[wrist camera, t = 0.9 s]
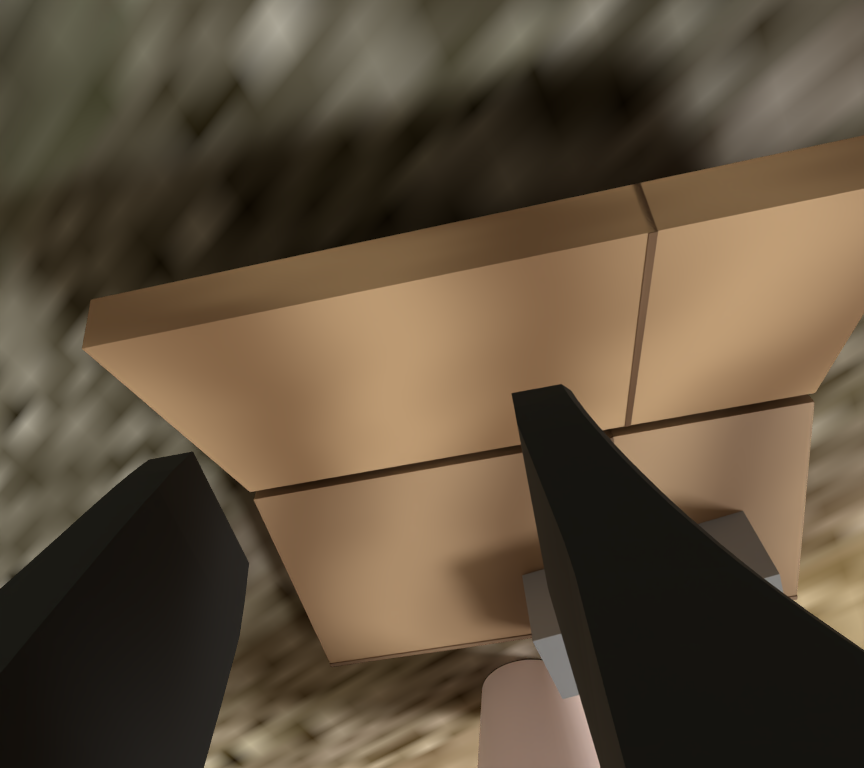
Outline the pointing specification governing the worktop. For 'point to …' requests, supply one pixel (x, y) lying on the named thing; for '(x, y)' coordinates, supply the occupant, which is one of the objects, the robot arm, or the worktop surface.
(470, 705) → the worktop surface
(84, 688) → the robot arm
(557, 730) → the smoothie
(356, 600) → the laid strip
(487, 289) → the board
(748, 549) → the block
